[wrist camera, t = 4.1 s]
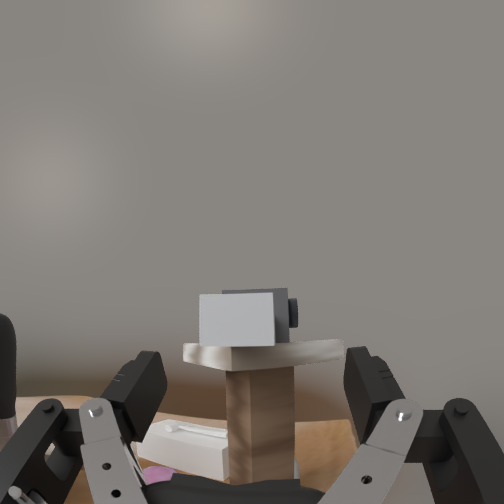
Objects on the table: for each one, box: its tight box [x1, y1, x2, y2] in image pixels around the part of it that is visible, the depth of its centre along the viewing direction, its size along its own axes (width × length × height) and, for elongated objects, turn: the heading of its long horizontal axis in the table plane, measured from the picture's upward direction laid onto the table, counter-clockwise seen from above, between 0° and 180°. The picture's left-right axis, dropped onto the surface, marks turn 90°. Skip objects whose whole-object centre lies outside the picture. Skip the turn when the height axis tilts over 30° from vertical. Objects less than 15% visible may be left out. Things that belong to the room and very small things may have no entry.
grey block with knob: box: [200, 288, 298, 347], centre depth 23 cm, size 20×7×5 cm, turn 175°
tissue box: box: [136, 419, 230, 481], centre depth 60 cm, size 14×25×11 cm, turn 68°
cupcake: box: [142, 466, 178, 484], centre depth 33 cm, size 9×9×10 cm
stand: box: [183, 339, 344, 485], centre depth 24 cm, size 12×12×32 cm
